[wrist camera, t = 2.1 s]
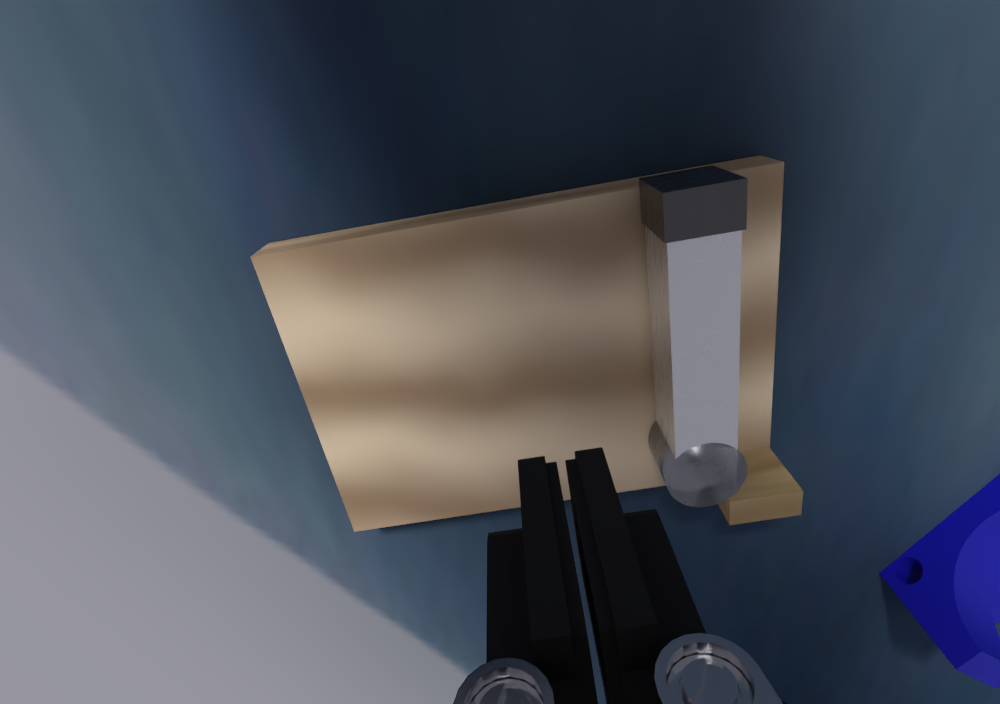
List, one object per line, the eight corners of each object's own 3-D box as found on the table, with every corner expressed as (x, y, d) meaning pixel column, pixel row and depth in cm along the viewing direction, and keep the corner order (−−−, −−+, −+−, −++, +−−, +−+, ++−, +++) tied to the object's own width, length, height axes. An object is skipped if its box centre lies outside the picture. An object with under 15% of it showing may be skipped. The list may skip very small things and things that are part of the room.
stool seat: (268, 243, 23) (216, 282, 18) (760, 155, 22) (831, 174, 17) (362, 503, 29) (340, 581, 24) (750, 445, 28) (801, 514, 23)
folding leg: (719, 457, 25) (747, 502, 23) (649, 468, 26) (668, 514, 23) (720, 163, 20) (757, 176, 17) (630, 179, 20) (653, 195, 17)
